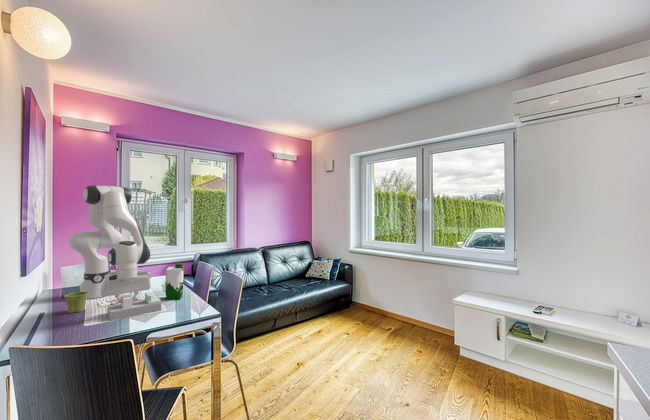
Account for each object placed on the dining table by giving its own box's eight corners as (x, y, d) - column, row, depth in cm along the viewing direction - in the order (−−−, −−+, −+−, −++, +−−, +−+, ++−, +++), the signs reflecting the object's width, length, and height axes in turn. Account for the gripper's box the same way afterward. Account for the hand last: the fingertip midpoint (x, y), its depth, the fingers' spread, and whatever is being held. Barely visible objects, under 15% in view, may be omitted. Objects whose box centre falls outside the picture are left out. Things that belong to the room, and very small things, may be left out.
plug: (120, 308, 142) (120, 295, 143) (129, 307, 145) (129, 294, 145) (123, 313, 136) (123, 299, 136) (132, 311, 138) (132, 297, 138)
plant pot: (73, 315, 138) (74, 297, 139) (58, 313, 140) (59, 296, 141) (93, 308, 148) (93, 292, 148) (78, 307, 150) (78, 291, 150)
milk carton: (181, 299, 163) (181, 265, 164) (163, 301, 161) (164, 266, 161) (184, 295, 172) (184, 262, 172) (167, 297, 169) (167, 263, 169)
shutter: (144, 299, 150) (144, 292, 150) (156, 297, 154) (156, 290, 154) (148, 304, 143) (148, 296, 143) (161, 301, 146) (161, 294, 146)
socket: (107, 314, 140) (107, 305, 140) (155, 304, 154) (155, 297, 154) (110, 320, 131) (110, 312, 131) (161, 310, 145) (161, 302, 145)
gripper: (149, 270, 150) (149, 296, 150) (100, 275, 136) (100, 304, 136) (152, 272, 145) (152, 299, 145) (101, 278, 131) (101, 308, 131)
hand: (126, 301), depth 140 cm, fingers open, 4 cm apart
